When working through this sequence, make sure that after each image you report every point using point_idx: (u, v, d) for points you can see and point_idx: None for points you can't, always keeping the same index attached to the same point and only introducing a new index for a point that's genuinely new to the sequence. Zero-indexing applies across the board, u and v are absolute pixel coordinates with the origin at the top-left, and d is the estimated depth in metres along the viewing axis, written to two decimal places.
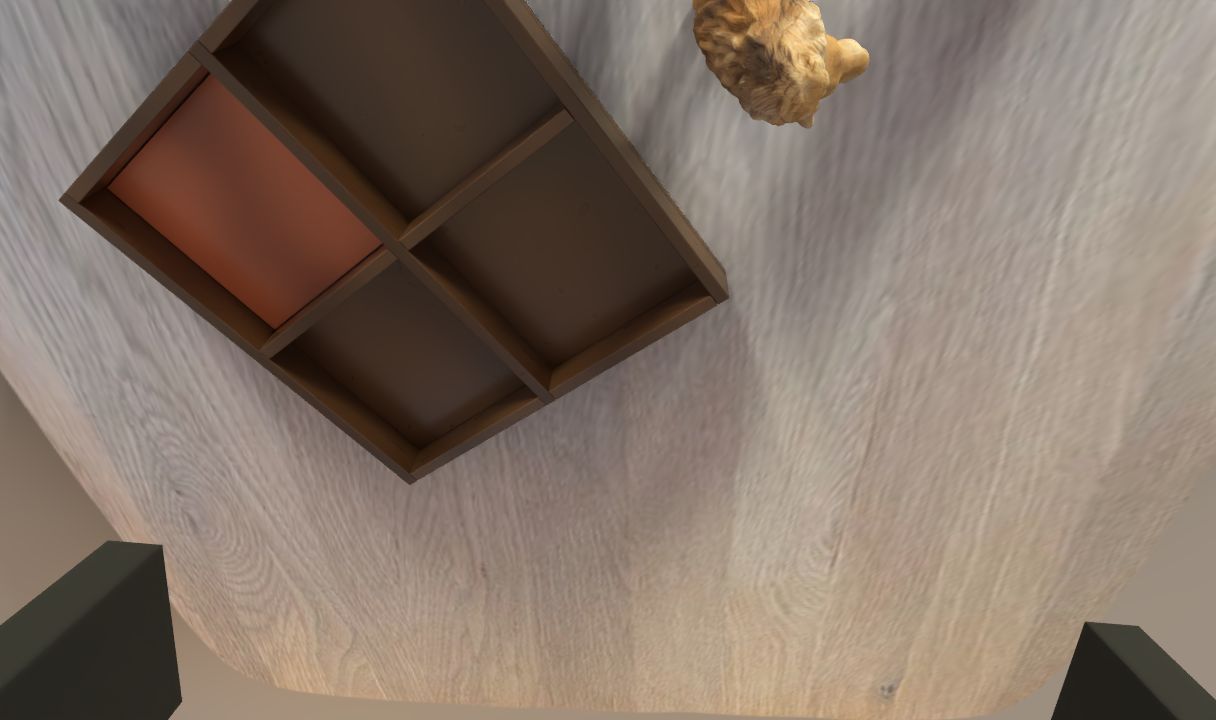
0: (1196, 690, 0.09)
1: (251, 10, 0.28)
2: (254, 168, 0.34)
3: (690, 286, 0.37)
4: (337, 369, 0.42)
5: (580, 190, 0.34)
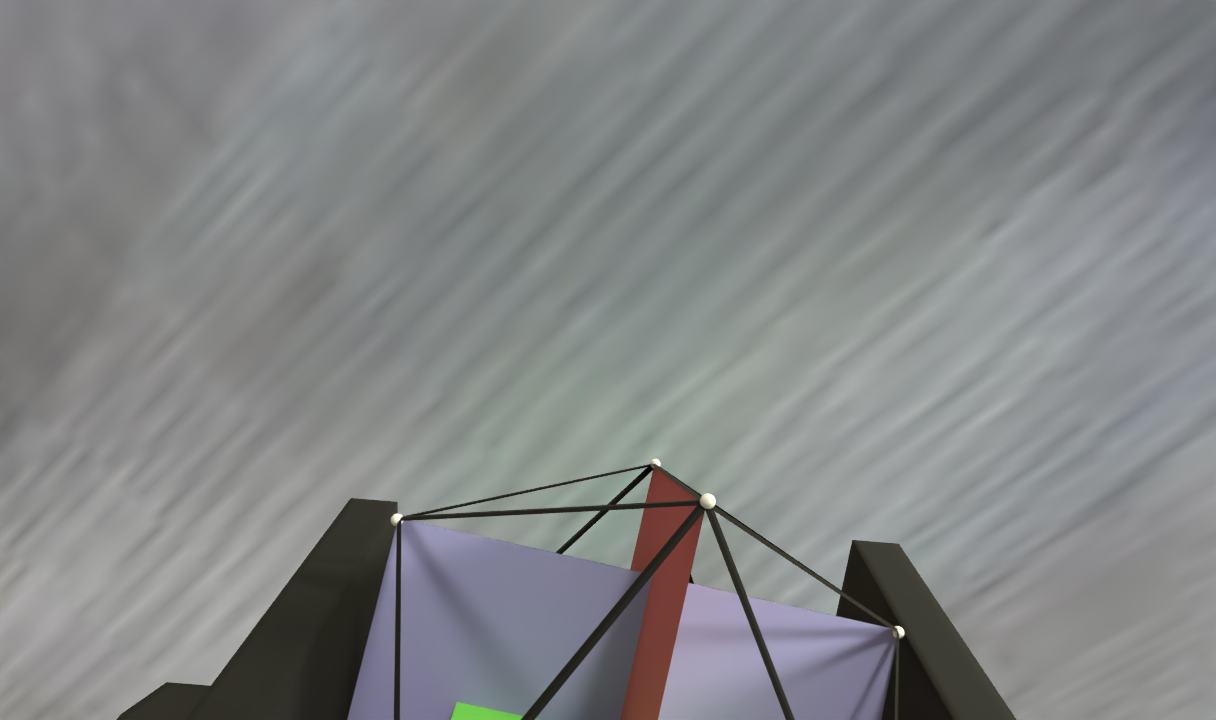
0: (923, 591, 0.10)
1: None
2: None
3: None
4: None
5: None
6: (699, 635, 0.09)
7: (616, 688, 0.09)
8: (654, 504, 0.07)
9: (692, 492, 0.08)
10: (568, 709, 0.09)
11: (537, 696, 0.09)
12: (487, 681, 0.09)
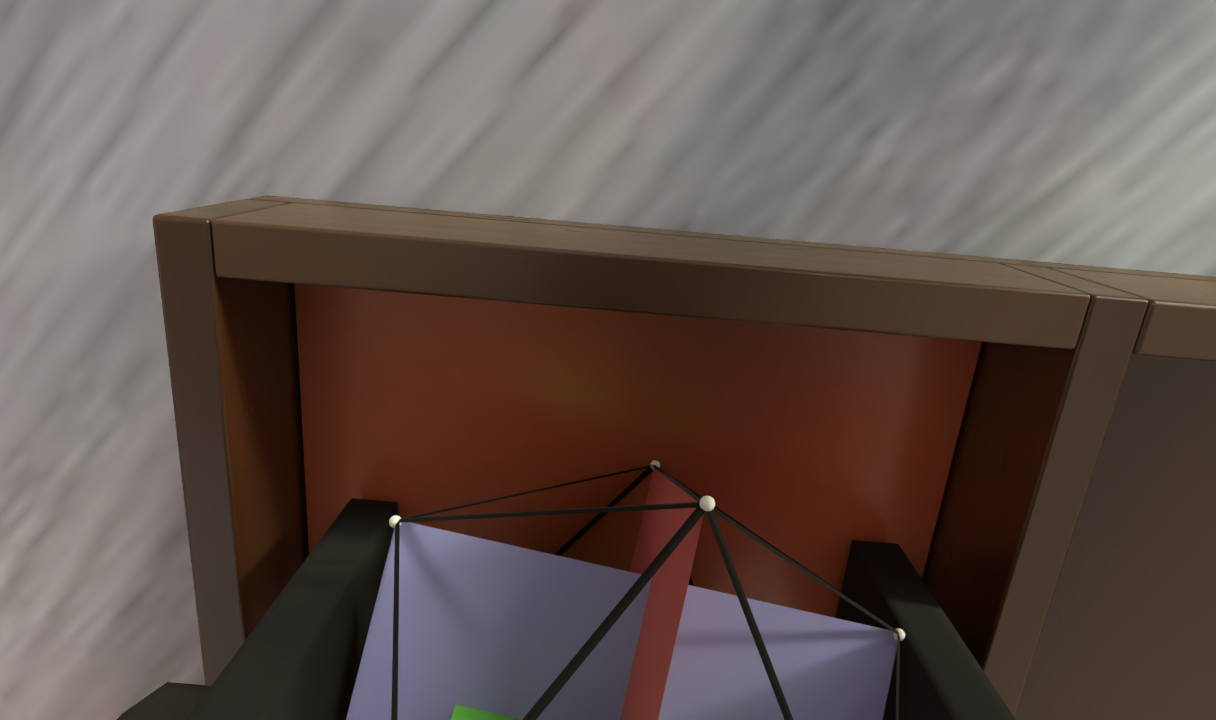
0: (923, 591, 0.10)
1: None
2: (731, 527, 0.12)
3: None
4: None
5: None
6: (699, 637, 0.09)
7: (615, 691, 0.09)
8: (653, 506, 0.07)
9: (692, 494, 0.08)
10: (567, 712, 0.09)
11: (536, 699, 0.09)
12: (486, 684, 0.09)
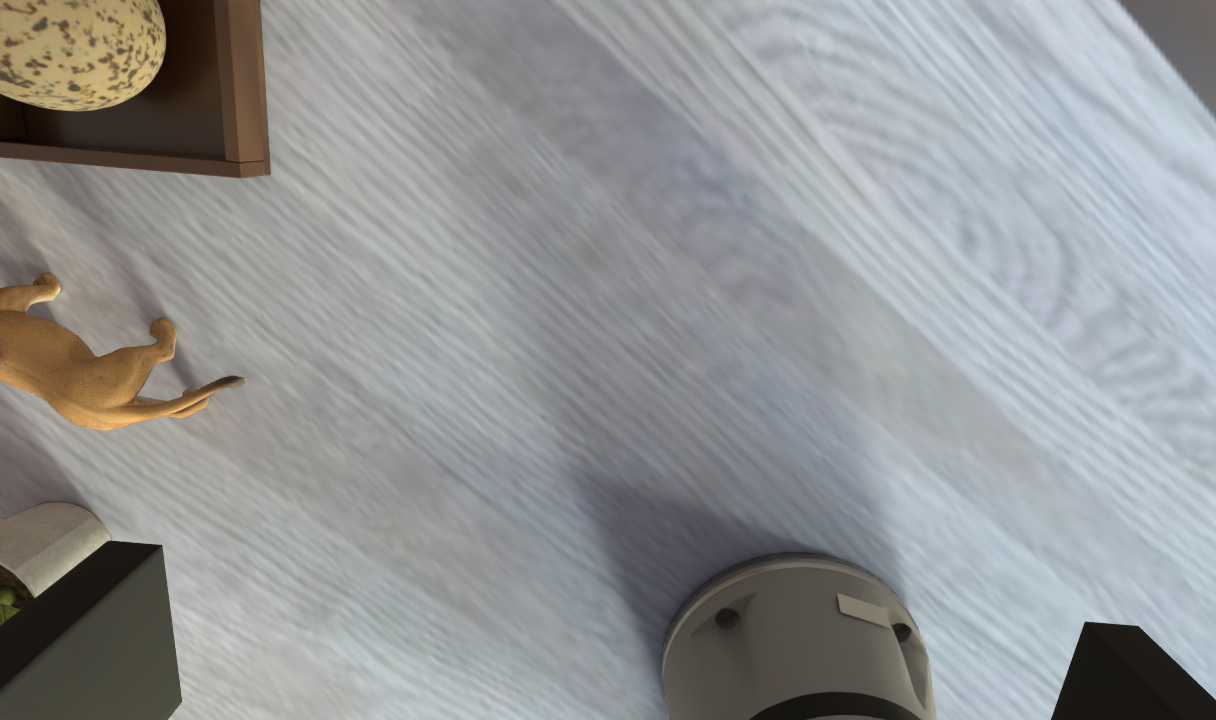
0: (1194, 689, 0.09)
1: None
2: None
3: None
4: None
5: None
6: None
7: None
8: None
9: None
10: None
11: None
12: None
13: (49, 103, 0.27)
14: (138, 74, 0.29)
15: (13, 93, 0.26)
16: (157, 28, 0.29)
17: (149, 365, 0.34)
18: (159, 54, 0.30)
